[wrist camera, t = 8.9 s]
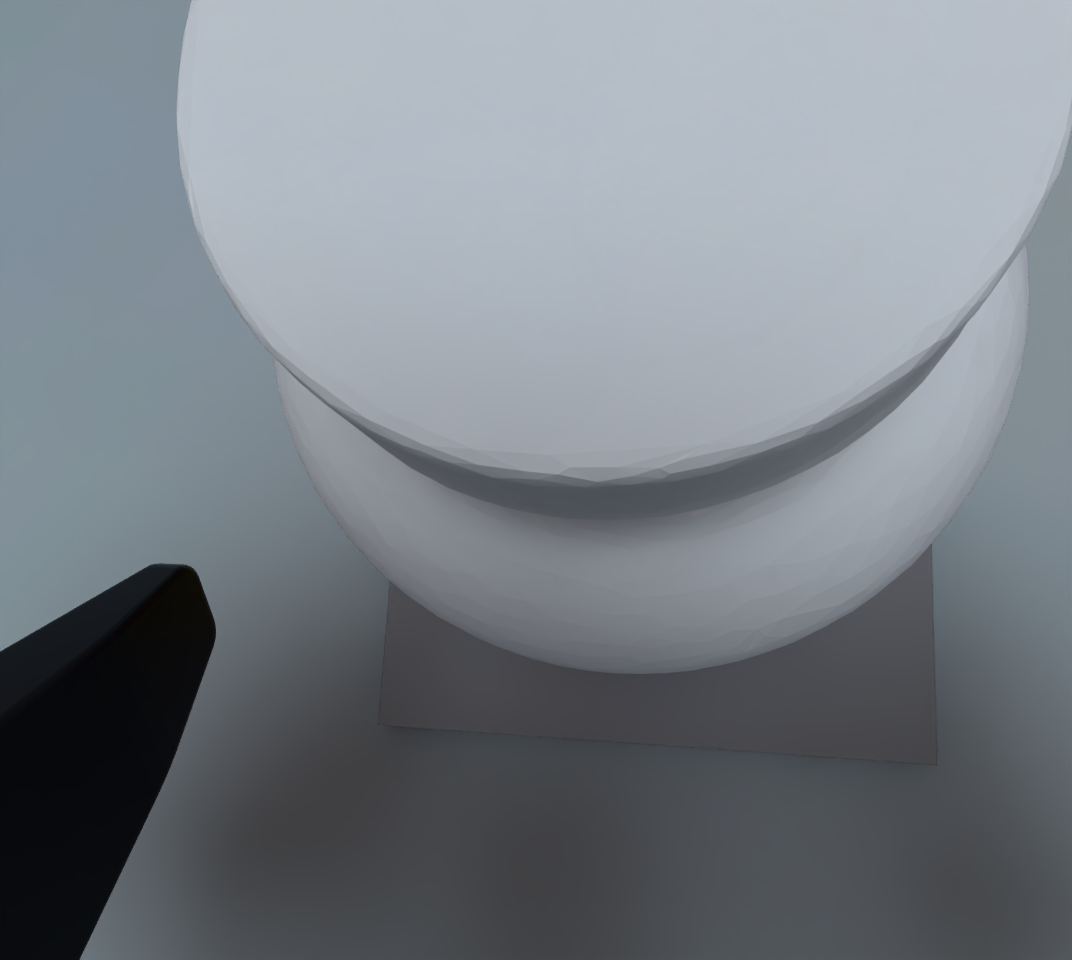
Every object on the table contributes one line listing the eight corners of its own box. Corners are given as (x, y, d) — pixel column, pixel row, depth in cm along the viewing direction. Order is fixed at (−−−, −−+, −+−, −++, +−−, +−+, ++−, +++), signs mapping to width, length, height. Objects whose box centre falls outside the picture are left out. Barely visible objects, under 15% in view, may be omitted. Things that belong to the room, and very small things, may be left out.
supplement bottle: (429, 586, 17) (-212, 416, 5) (550, 277, 18) (270, -552, 6) (767, 718, 16) (1095, 963, 3) (882, 378, 17) (1490, -432, 4)
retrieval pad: (929, 761, 16) (937, 765, 15) (386, 723, 17) (378, 725, 17) (916, 234, 18) (923, 222, 17) (425, 242, 19) (418, 232, 19)
